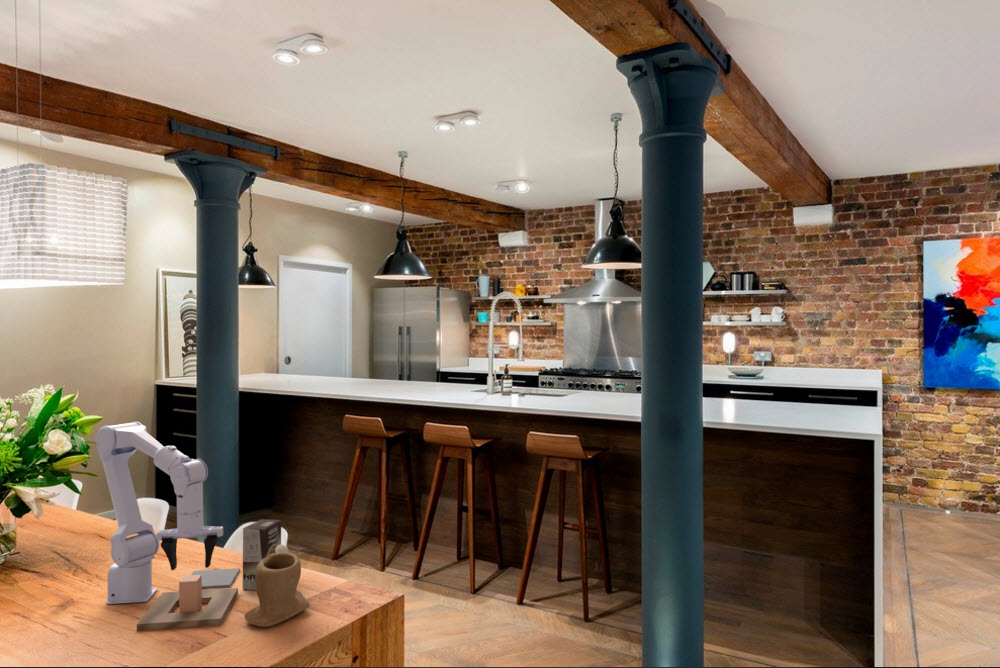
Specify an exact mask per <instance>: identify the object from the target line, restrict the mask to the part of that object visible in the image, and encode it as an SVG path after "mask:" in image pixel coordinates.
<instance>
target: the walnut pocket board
mask: <svg viewBox="0 0 1000 668" xmlns="http://www.w3.org/2000/svg"><path fill="white" fill-rule="evenodd" d="M238 594H239V588H237V587H234V588H233V587H229V588H213V589H202V603H208V604H206V606H205V608H204V610H200V611H194V612H179V611H178V612H174V611H175V610H176V609H177V607H179V591H167V592H166V591H165V592H162V593H161V594H160V595H159V596H158V598H157V599H156V600H155V601H154V603H153V604H152V605H151V606H150V607H149V608H148V610H147V611H146V612H145V613H144V615H143V616H142V617H141V618H140V620H139V621H138V622H137V623H136V631H137V632H138V631H141V632H142V631H155V630H168V629H171V630H172V629H182V628H185V629H186V628H196V627H197V628H198V626H200V627H211V626H222V624H223V622H224V620H225V618H226V617H227V615H228V613H229V611H230V609H231V607H232V606H233V604H234V602H235V600H236V598H237V596H238Z"/></svg>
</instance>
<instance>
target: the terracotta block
mask: <svg viewBox="0 0 1000 668" xmlns="http://www.w3.org/2000/svg"><path fill="white" fill-rule="evenodd" d="M202 590H203V589H202V575H192V574H191V575H190V574H189V575H184V576H182V578H181V579H180V580H179V582H178V592H179V605H178V607H179V608H178V609H179V610H178V612H194V611H199V610H200V611H201V609H202V607H203V606H202V605H203V604H202ZM200 608H201V609H200Z"/></svg>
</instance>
